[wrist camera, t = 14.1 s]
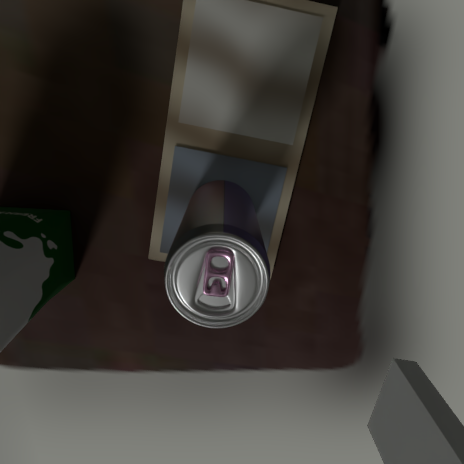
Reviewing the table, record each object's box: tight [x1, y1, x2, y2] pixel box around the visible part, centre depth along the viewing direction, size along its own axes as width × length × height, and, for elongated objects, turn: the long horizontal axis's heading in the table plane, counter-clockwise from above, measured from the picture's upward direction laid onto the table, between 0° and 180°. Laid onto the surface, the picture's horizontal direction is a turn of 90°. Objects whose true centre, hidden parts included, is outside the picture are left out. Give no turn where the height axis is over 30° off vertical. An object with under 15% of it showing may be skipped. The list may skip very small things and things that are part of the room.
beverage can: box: [164, 180, 270, 328], centre depth 27 cm, size 6×6×15 cm
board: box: [148, 0, 338, 279], centre depth 33 cm, size 24×12×2 cm, turn 169°
